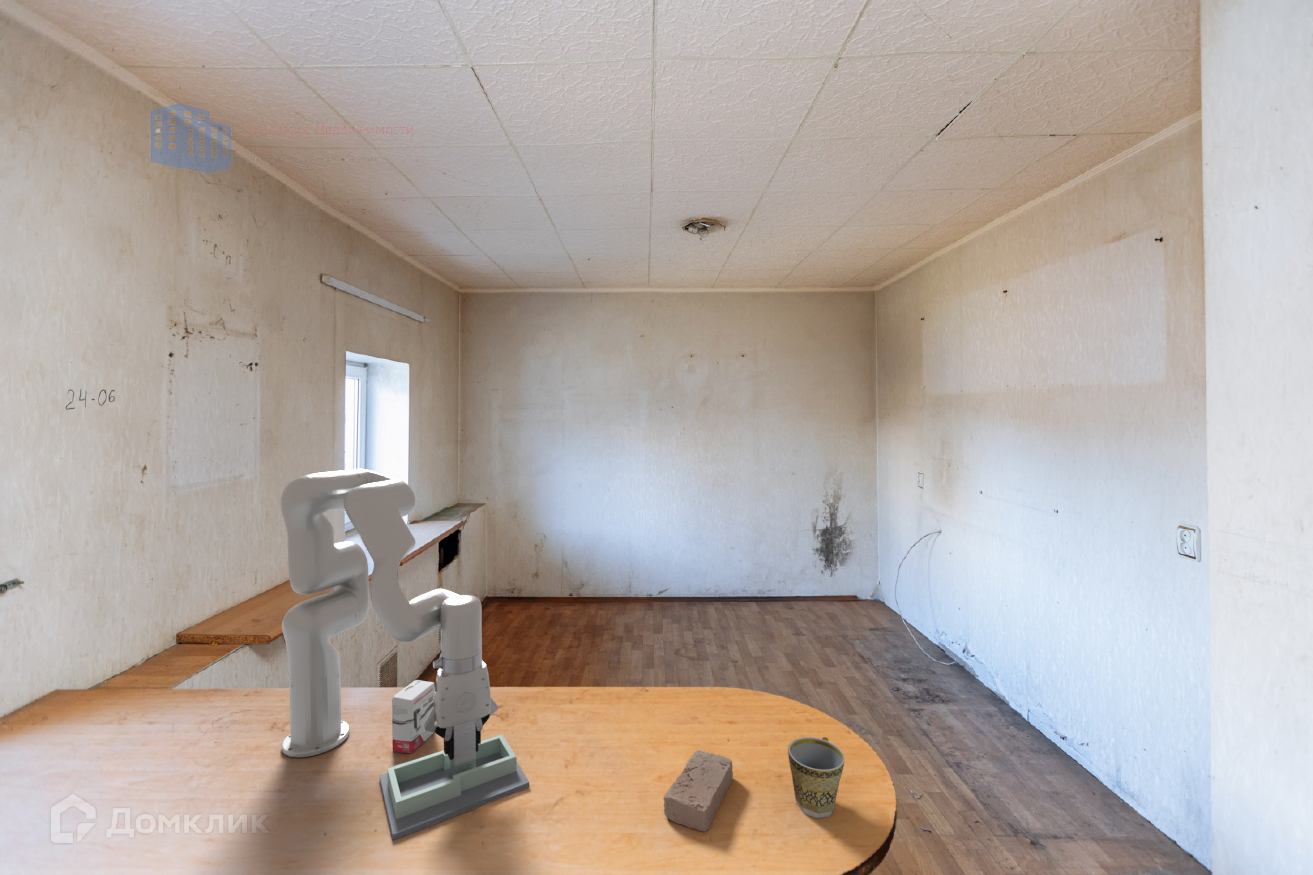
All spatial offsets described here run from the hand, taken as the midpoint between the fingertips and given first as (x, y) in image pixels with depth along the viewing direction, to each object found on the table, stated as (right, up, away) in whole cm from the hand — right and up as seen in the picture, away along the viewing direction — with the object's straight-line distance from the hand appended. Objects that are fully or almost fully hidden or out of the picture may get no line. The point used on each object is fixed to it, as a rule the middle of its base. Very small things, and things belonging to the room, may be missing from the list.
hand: (462, 751), depth 106 cm
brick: (+46, -7, -4) cm, 47 cm away
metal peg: (0, -4, 0) cm, 4 cm away
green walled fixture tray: (-1, -6, -1) cm, 6 cm away
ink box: (-15, -6, +13) cm, 21 cm away
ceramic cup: (+68, -7, -5) cm, 69 cm away
